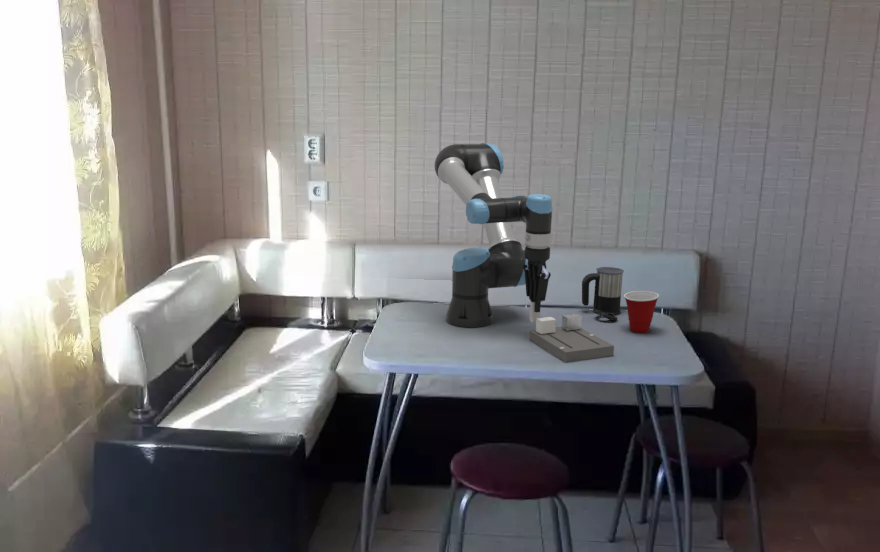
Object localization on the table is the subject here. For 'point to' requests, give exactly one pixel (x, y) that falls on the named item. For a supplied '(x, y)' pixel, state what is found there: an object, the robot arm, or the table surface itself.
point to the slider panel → (572, 344)
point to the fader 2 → (571, 322)
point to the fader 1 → (545, 325)
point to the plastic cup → (640, 309)
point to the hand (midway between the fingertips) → (534, 321)
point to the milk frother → (604, 291)
